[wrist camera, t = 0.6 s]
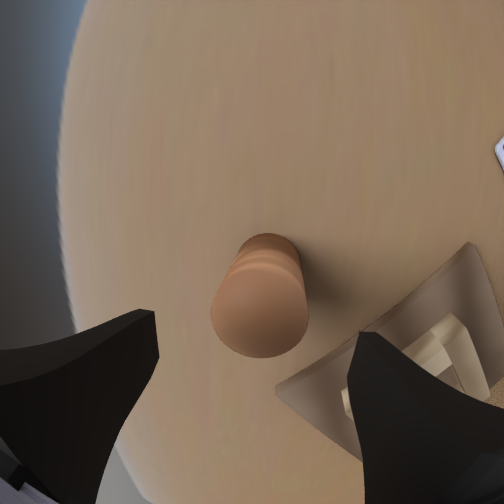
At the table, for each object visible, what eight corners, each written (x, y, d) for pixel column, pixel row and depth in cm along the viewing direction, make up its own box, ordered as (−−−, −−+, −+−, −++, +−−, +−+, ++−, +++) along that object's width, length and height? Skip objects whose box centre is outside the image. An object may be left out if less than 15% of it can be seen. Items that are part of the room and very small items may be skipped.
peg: (271, 219, 18) (264, 251, 11) (313, 268, 18) (327, 324, 11) (223, 260, 19) (191, 310, 12) (264, 305, 19) (254, 372, 12)
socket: (467, 241, 16) (495, 255, 13) (508, 362, 19) (524, 381, 15) (275, 386, 21) (273, 418, 18) (367, 459, 23) (372, 484, 20)
